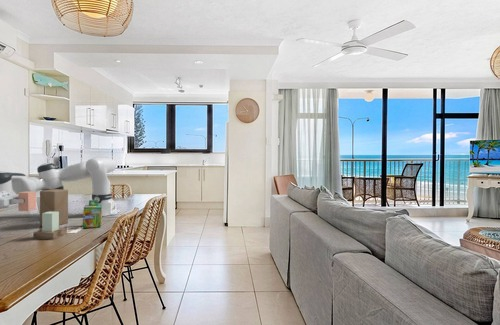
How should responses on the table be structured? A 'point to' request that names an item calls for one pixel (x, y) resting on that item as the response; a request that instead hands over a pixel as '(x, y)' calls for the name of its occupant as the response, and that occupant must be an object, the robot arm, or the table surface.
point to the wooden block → (54, 204)
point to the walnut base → (50, 234)
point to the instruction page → (73, 229)
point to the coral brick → (27, 201)
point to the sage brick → (50, 221)
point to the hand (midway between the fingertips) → (28, 199)
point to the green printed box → (92, 215)
